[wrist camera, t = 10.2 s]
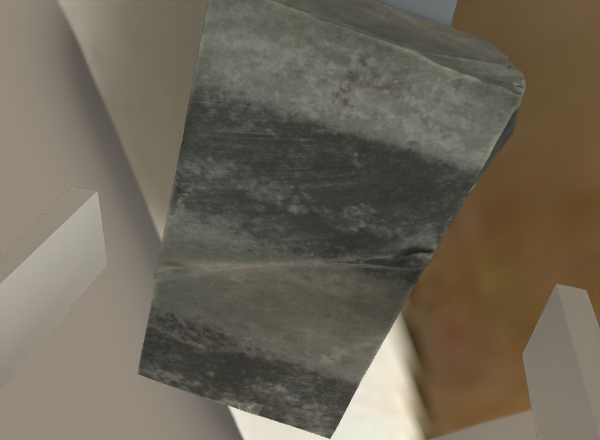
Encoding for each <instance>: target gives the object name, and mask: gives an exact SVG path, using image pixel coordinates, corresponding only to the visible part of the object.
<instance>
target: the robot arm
mask: <svg viewBox="0 0 600 440" xmlns="http://www.w3.org/2000/svg"><path fill="white" fill-rule="evenodd" d="M102 227H103V226H102V220H101V213H100V205H99V198H98V191H95V190H90V189H85V188H80V187H75V186H73V187H72V188H71V189H70V190H69V191H67V192H66V193H65V194H64V195H63V196H62V197H61V198H60V199H58V200H57V201H56V202H55V203H54V204H53V205H52V206H50V207H49V208H48V209H47V210H46V211H45V212H44V213H42V214H41V216H39V217H38V218H37V219H36V220H35V221H33V222H32V223H31V224H30V225H29V226H28V227H27V228H25V229H24V230H23V231H22V232H21V233H20V234H19V235H17V236H16V237H15V238H14V239H13V240H12V241H11V242H10V243H9V244H7V245H6V246H5V247H4V248H3V249H2V250H0V392H1V391H2V390H3V389H4V388H5V386H6V385H7V384H8V383H9V381H10V380H11V379H12V378H13V377H14V375H15V374H16V373H17V372H18V371H19V370H20V368H21V367H22V366H23V365H24V363H25V362H26V361H27V360H28V359H29V357H30V356H31V355H32V354H33V353H34V351H35V350H36V349H37V348H38V347H39V345H40V344H41V343H42V342H43V341H44V339H45V338H46V337H47V336H48V335H49V333H50V332H51V331H52V330H53V329H54V327H55V326H56V325H57V324H58V323H59V321H60V320H61V319H62V318H63V316H64V315H65V314H66V313H67V312H68V310H69V309H70V308H71V307H72V306H73V304H74V303H75V302H76V301H77V300H78V298H79V297H80V296H81V295H82V294H83V292H84V291H85V290H86V289H87V288H88V286H89V285H90V284H91V283H92V281H93V280H94V279H95V278H96V277H97V276H98V274H99V273H100V272H101V271H102V270H103V268H104V267H105V266H106V265H107V264H108V262H107V255H106V248H105V241H104V234H103V228H102ZM522 355H523V361H524V367H525V373H526V378H527V384H528V390H529V396H530V402H531V407H532V413H533V418H534V425H535V430H536V436H537V440H600V328H599V325H598V322H597V319H596V316H595V314H594V311H593V308H592V305H591V302H590V299H589V296H588V294H587V291H586V290H584V289H579V288H574V287H570V286H565V285H560V284H556V285H555V287H554V290H553V292H552V294H551V296H550V298H549V300H548V302H547V304H546V306H545V308H544V310H543V312H542V315H541V317H540V319H539V321H538V323H537V325H536V327H535V329H534V331H533V333H532V335H531V337H530V340H529V342H528V344H527V346H526V348H525V350H524V352H523V354H522Z"/></svg>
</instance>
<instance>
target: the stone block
mask: <svg viewBox="0 0 600 440" xmlns="http://www.w3.org/2000/svg"><path fill="white" fill-rule="evenodd" d="M525 87H526V82H525V78H524V76H523V74H522V73H521V71H520V70H516V67H515V66H514V64H513V63H512V62H511V61H510V60H509V59H508V57H507V56H506V55H505V54H503V53H501V52H500V51H499V50H498V49H497V48H496V46H495V45H494V44H493V43H492V42H491V41H490V40H488V39H486V38H483V37H479V36H475V35H472V34H469V33H466V32H463V31H461V30H458V29H455V28H453V27H450V26H447V25H443V24H440V23H436V22H432V21H429V20H425V19H421V18H417V17H415V16H413V15H410V14H408V13H406V12H403V11H401V10H399V9H396V8H394V7H392V6H390V5H389V4H387V3H385V2H383V1H379V0H209V2H208V7H207V12H206V17H205V22H204V27H203V32H202V37H201V43H200V48H199V53H198V58H197V63H196V69H195V74H194V79H193V85H192V90H191V95H190V100H189V105H188V110H187V117H186V123H185V130H184V136H183V142H182V145H181V148H180V154H179V160H178V167H177V171H176V176H175V180H174V184H173V189H172V194H171V199H170V204H169V209H168V214H167V219H166V225H165V230H164V235H163V240H162V245H161V250H160V257H159V261H158V263H157V266H156V268H155V271H154V278H155V279H156V283H155V288H154V292H153V297H152V303H151V309H150V314H149V318H148V323H147V329H146V334H145V340H144V344H143V348H142V354H141V359H140V364H139V369H138V374H139V375H142V376H144V377H147V378H149V379H152V380H155V381H158V382H161V383H164V384H167V385H170V386H173V387H176V388H179V389H181V390H184V391H187V392H189V393H192V394H195V395H198V396H201V397H204V398H207V399H209V400H212V401H215V402H218V403H222V404H225V405H228V406H231V407H234V408H237V409H240V410H242V411H245V412H248V413H251V414H255V415H258V416H262V417H265V418H268V419H271V420H274V421H277V422H281V423H284V424H287V425H290V426H293V427H296V428H299V429H302V430H305V431H308V432H311V433H314V434H317V435H320V436H323V437H326V438H329V439H330V438H331V436H332V435H333V433H334V432H335V430H336V428H337V426H338V425H339V423H340V421H341V419H342V417H343V415H344V413H345V411H346V409H347V407H348V405H349V403H350V401H351V399H352V397H353V395H354V393H355V392H356V390H357V388H358V386H359V384H360V382H361V380H362V378H363V376H364V375H365V373H366V371H367V370H368V368H369V366H370V364H371V363H372V361H373V359H374V357H375V355H376V354H377V352H378V350H379V348H380V346H381V345H382V343H383V341H384V340H385V338H386V336H387V334H388V333H389V331H390V329H391V327H392V326H393V324H394V322H395V320H396V319H397V317H398V315H399V313H400V311H401V309H402V308H403V306H404V304H405V302H406V300H407V298H408V297H409V295H410V293H411V291H412V289H413V288H414V286H415V284H416V282H417V281H418V279H419V277H420V275H421V274H422V272H423V270H424V269H425V268H426V267H427V266H428V265H429V263H430V260H431V258H432V256H433V254H434V252H435V250H436V249H437V247H438V245H439V243H440V242H441V240H442V238H443V237H444V235H445V233H446V232H447V230H448V228H449V226H450V225H451V223H452V221H453V219H454V218H455V216H456V214H457V212H458V211H459V209H460V207H461V205H462V204H463V202H464V200H465V198H466V197H467V195H468V193H469V192H470V191H471V190H472V189H473V188H474V186H475V185H476V183H477V182H478V181H479V179H480V178H481V177H482V175H483V174H484V172H485V171H486V170H487V168H488V167H489V165H490V164H491V162H492V161H493V159H494V158H495V156H496V155H497V154H498V153H499V152H500V150H501V149H502V148H503V147H504V145H505V144H506V143H507V141H508V140H509V139H510V137H511V136H512V135H513V133H514V129H515V124H516V118H517V114H518V112H519V109H520V104H521V98H522V95H523V92H524V90H525Z"/></svg>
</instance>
